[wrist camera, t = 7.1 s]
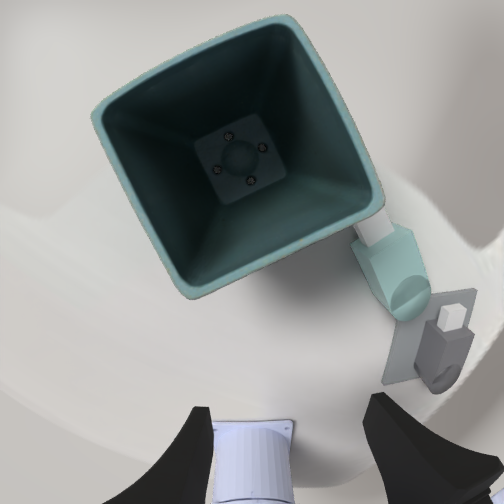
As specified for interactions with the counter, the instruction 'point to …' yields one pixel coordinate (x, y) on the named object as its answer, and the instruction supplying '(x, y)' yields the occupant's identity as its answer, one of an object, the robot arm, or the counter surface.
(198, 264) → the flower pot
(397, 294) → the teal plug
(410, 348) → the coaster
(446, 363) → the white-capped grey post
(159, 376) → the counter surface
